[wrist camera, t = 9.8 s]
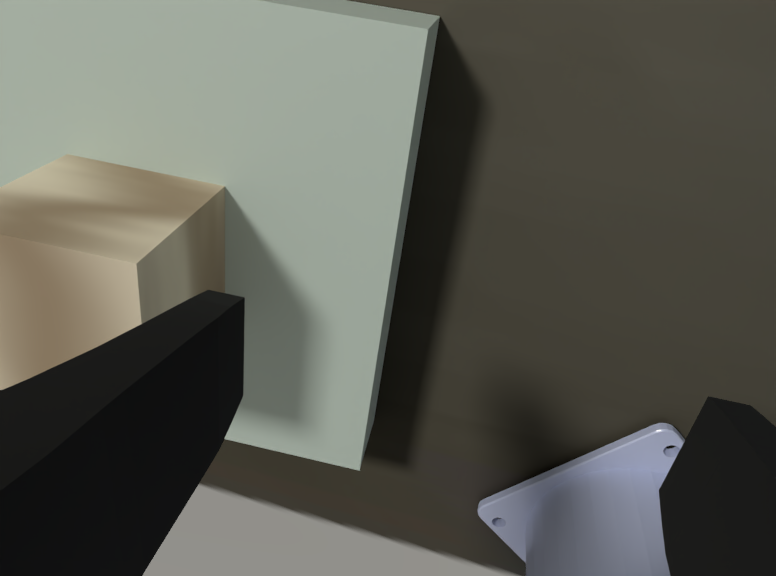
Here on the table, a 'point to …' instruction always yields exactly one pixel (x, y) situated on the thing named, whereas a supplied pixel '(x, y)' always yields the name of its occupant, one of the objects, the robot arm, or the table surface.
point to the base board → (251, 169)
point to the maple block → (99, 256)
